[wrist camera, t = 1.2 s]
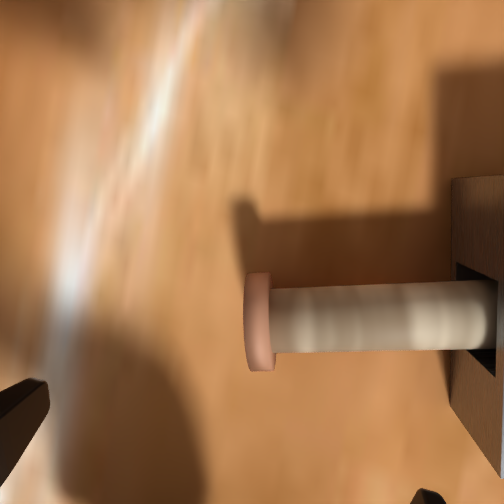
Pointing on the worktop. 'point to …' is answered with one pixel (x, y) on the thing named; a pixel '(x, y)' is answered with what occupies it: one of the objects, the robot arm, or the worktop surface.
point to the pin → (366, 318)
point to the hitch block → (499, 268)
